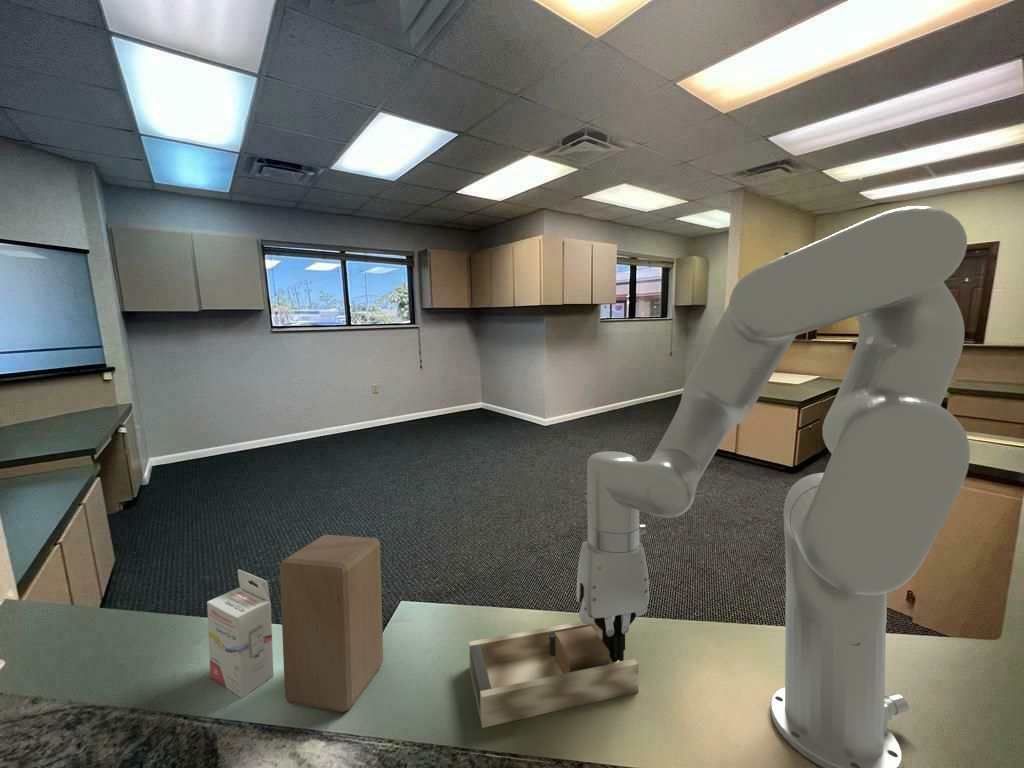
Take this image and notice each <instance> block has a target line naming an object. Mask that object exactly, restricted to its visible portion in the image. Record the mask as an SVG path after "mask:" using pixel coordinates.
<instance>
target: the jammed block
mask: <svg viewBox="0 0 1024 768" xmlns="http://www.w3.org/2000/svg"><path fill="white" fill-rule="evenodd" d="M555 658H556V660H557V662H558V664H559V666H560V668H561V670H562V672H563V674H565V673H569V671H571V670H576V669H581V668H586V667H590V666H595V665H600V664H605V663H610V661H609V650H608V648H607V647H606V646H605V644H604V643H603V642H602V640H601V639H600V637H599V636H598V635H597V633H596V632H595V630H594V629H593V628H592V626H588V627H583V628H577V629H572V630H566V631H561V632H555Z"/></svg>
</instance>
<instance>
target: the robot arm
mask: <svg viewBox="0 0 1024 768" xmlns="http://www.w3.org/2000/svg"><path fill="white" fill-rule="evenodd" d="M961 223H962V222H960V220H958V218H956V216H954V215H952V214H951V213H949V212H947V211H945V210H943V209H942V208H941V209H940V208H936V207H933V206H923V205H915V206H914V205H913V206H905V207H900V208H895V209H891V210H890V209H889V210H888V211H884V212H883V213H879V214H877V215H874V216H872V217H870V218H868V219H865V220H862V221H861V222H858V223H856V224H853V225H851V226H849V227H848V228H845V229H842V230H840V231H838V232H835V233H834V234H832V235H829V236H827V237H825V238H822V239H820V240H817V241H815V242H813V243H810V244H807V245H806V246H803V247H802V248H800V249H797V250H795V251H792V252H789V253H788V254H786V255H783V256H780V257H778V258H776V259H774V260H771V261H769V262H767V263H764V264H763V265H760V266H758V267H756V268H754V269H753V270H751V271H749V272H748V273H747V274H745V275H744V276H743V277H742V278H741V279H739V281H738V282H736V285H735V286H734V287H733V289H732V291H731V294H730V296H729V302H728V305H727V306H726V308H725V310H724V312H723V314H722V316H721V318H720V320H719V322H718V323H717V325H716V327H715V329H714V331H713V333H712V335H711V336H710V339H709V340H708V342H707V343H706V346H705V347H704V350H703V351H702V353H701V355H700V357H699V358H698V360H697V361H696V364H695V365H694V367H693V369H692V371H691V372H690V374H689V376H688V378H687V379H686V382H685V384H684V386H683V390H682V394H681V400H680V401H679V405H678V407H677V410H676V412H675V413H674V416H673V418H672V420H671V422H670V424H669V426H668V427H667V430H666V431H665V433H664V434H663V437H662V438H661V440H660V441H659V444H658V446H657V447H656V449H655V450H654V453H653V454H652V455H651V457H650V459H648V460H646V461H638V460H637V458H636V457H635V456H634V455H632V454H629V453H627V452H623V451H613V450H612V451H609V450H608V451H598V452H595V453H592V454H591V455H590V456H589V457H588V458H587V463H586V464H587V465H586V485H587V486H586V487H587V488H586V493H587V495H586V496H587V497H586V500H587V505H586V506H587V507H586V508H587V522H586V523H587V540H586V541H583V542H582V544H581V547H580V551H579V558H578V564H577V573H576V574H577V575H576V601H577V602H578V603H577V604H580V609H579V612H578V613H579V614H578V619H579V620H580V622H582V623H583V624H590V625H593V624H596V625H597V626H598V627H599V628H600V629H602V642H603V643H604V644H605V646H606V647H607V648H608V650H609V657H610V659H611V660H612V661H613V662H617V660H619V661H620V662H622V661H625V659H624V657H625V653H624V652H625V650H626V634H628V632H630V631H629V630H630V626H631V624H632V623H633V622H634V621H635V620H636V618H638V617H641V616H643V615H645V614H647V612H648V605H649V601H650V587H649V586H650V584H649V583H650V582H649V572H648V565H647V560H646V559H647V558H646V554H645V550H644V547H643V544H642V542H641V536H642V535H643V534H646V533H647V528H646V525H645V524H640V512H643V513H646V514H649V515H651V516H656V517H660V518H676V517H680V516H682V515H683V514H685V513H686V512H688V511H689V509H690V508H691V507H692V505H693V503H694V499H695V497H696V492H697V486H698V483H699V481H700V480H701V478H702V476H703V474H704V473H705V471H706V469H707V467H708V465H709V464H710V462H711V461H712V459H713V457H714V456H715V454H716V452H717V451H718V449H719V448H720V446H721V445H722V443H723V441H724V440H725V439H726V438H727V436H728V434H729V433H730V432H732V430H733V429H734V428H735V427H736V426H738V424H740V423H741V422H743V421H744V419H745V418H747V416H748V415H749V414H750V412H751V411H752V410H753V408H754V406H755V405H756V403H757V401H758V399H759V398H760V396H761V394H762V393H763V391H764V390H765V388H766V386H767V384H768V382H769V381H770V379H771V378H772V376H773V375H774V373H775V371H776V369H777V368H778V366H779V365H780V363H781V361H782V360H783V359H784V357H785V355H786V353H787V352H788V350H789V348H790V347H791V345H792V343H793V342H794V341H795V338H796V337H797V336H799V335H802V334H805V333H809V332H812V331H815V330H818V329H821V328H824V327H827V326H831V325H833V324H836V323H839V322H841V321H845V320H848V319H850V318H854V317H856V321H857V322H858V337H857V343H856V345H855V348H854V351H853V354H852V357H851V360H850V363H849V366H848V368H847V370H846V372H845V375H844V378H843V379H842V382H841V384H840V387H839V389H838V391H837V393H836V395H835V398H834V400H833V402H832V404H831V406H830V408H829V409H828V411H827V413H826V416H825V417H824V421H823V423H822V424H823V425H822V428H821V429H822V439H823V442H824V445H825V446H826V448H827V449H828V451H829V453H831V456H830V458H829V460H828V463H827V465H826V468H825V470H824V472H817V473H812V474H808V475H806V476H804V477H802V478H800V479H799V480H797V482H795V483H794V484H793V485H792V486H791V487H790V488H789V490H788V491H787V494H786V497H785V500H784V504H783V528H784V529H783V531H784V548H785V630H784V631H785V632H784V633H785V635H784V636H785V637H784V638H785V641H784V643H785V644H784V645H785V649H784V650H785V653H784V655H785V657H784V686H783V687H781V688H779V689H777V690H776V691H775V692H774V693H773V695H772V696H771V698H770V699H771V700H770V715H771V719H772V721H773V723H774V726H775V727H776V729H777V731H779V733H780V734H781V736H782V737H783V738H784V739H785V741H787V742H788V743H789V745H790V746H792V747H793V748H794V749H795V750H796V751H797V752H799V754H801V755H802V756H804V757H805V758H807V759H808V760H810V761H811V762H812V763H814V764H816V765H818V766H820V767H821V768H903V751H902V749H901V746H900V744H899V741H897V739H896V737H895V736H894V735H893V733H892V732H891V731H890V729H889V727H888V722H889V721H891V720H892V718H893V716H898V715H901V714H905V713H907V712H909V708H910V707H909V704H908V702H907V700H906V699H905V697H904V696H902V695H900V694H899V693H897V692H894V693H893V692H892V693H889V694H886V695H885V692H886V690H885V689H886V688H885V687H886V640H887V639H886V638H887V637H886V635H887V634H886V631H887V628H886V627H887V617H888V616H887V611H888V610H887V608H888V607H887V606H888V605H887V593H891V592H893V591H896V590H897V589H900V588H901V587H903V586H904V585H906V583H908V582H909V581H910V580H911V579H913V577H914V576H915V574H916V573H917V571H919V569H920V568H921V566H922V565H923V563H924V562H925V559H926V557H927V556H928V554H929V552H930V550H931V548H932V546H933V544H934V542H935V541H936V538H937V536H938V535H939V532H940V530H941V528H942V527H943V524H945V523H944V522H945V520H946V519H947V517H948V514H949V512H950V510H951V508H952V506H953V505H954V503H955V500H956V498H957V496H958V495H959V492H960V490H961V488H962V486H963V483H964V481H965V479H966V477H967V474H968V469H969V466H970V465H969V464H970V456H971V453H970V451H971V449H970V443H969V437H968V436H967V433H966V430H965V428H964V427H963V426H962V424H961V423H960V421H959V420H958V419H957V418H956V417H955V416H954V415H953V414H952V413H951V412H950V411H948V410H947V409H946V408H944V407H943V406H942V404H943V400H944V398H945V396H946V393H947V391H948V389H949V388H950V387H949V386H950V383H951V381H952V379H953V375H954V373H955V370H956V368H957V366H958V363H959V360H960V358H961V355H962V351H963V347H964V341H965V333H966V332H965V322H964V318H963V315H962V311H961V309H960V306H959V305H958V303H957V301H956V299H955V297H954V296H953V294H952V292H951V290H949V288H948V286H947V285H946V283H945V281H946V280H947V279H949V278H950V277H951V276H952V275H954V273H955V272H956V270H957V269H958V268H959V266H960V265H961V263H962V262H963V260H964V258H965V256H966V252H967V247H968V236H967V233H966V230H965V228H964V226H963V225H962V224H961Z"/></svg>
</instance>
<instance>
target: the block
mask: <svg viewBox="0 0 1024 768" xmlns="http://www.w3.org/2000/svg"><path fill="white" fill-rule="evenodd" d="M381 572H382V571H381V542H380V540H379V538H376V537H362V536H350V535H338V534H337V535H335V534H324V535H322V536H320V537H319V538H317V539H315V540H313V541H312V542H310V543H308V544H307V545H305V546H303V547H302V548H300V549H299V550H297V551H296V552H294V553H293V554H291V555H289V556H288V557H286V558H284V559H283V560H282V561H281V563H280V566H279V579H280V580H279V581H280V584H279V585H280V603H281V607H280V608H281V630H282V631H281V632H282V654H283V656H282V657H283V683H284V684H283V685H284V698H285V700H286V702H288V703H289V704H293V705H298V706H306V707H311V708H317V709H323V710H328V711H336V712H341V713H344V712H348V710H350V709H351V708H352V707H353V705H354V704H355V703H356V701H357V700H358V699H359V697H360V696H361V694H362V693H363V692H364V690H365V689H366V687H367V686H368V685H369V684H370V682H371V681H372V679H373V678H374V676H375V675H376V674H377V672H378V671H379V670H380V668H381V667H382V664H383V662H384V639H383V638H384V636H383V635H384V634H383V611H382V610H383V608H382V607H383V606H382V604H383V603H382V579H381V577H382V573H381Z"/></svg>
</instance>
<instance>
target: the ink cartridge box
mask: <svg viewBox="0 0 1024 768" xmlns="http://www.w3.org/2000/svg"><path fill="white" fill-rule="evenodd" d="M237 576H238V577H237V579H238V583H239V587H237V588H235V589H232V590H229V591H228V592H226V593H223V594H221V595H218V596H216V597H214V598H213V599H210V600H208V601H206V606H207V607H206V608H207V624H208V625H207V626H208V627H207V630H208V650H209V651H208V652H209V670H210V671H209V672H210V678H211V679H212V680H215V681H216V682H218V683H219V684H220V685H222V686H224V688H226V689H228V690H229V691H230V692H232V693H234V694H235V695H237V696H238V697H239V698H243V697H245V696H247V695H248V694H250V693H251V692H252V691H254V690H256V689H257V688H258V687H260V686H261V685H263V684H264V683H266V682H267V681H268V680H270V679H271V678H272V677H274V674H275V673H274V652H273V628H272V627H273V626H272V623H273V622H272V604H271V598H270V591H269V584H268V581H267V580H265V579H263V578H261V577H259V576H256V575H254V574H251V573H249V572H247V571H243V570H242V569H241V568H240V569H237ZM251 581H252V582H253V583H254V584H256V585H257V587H256V586H255V585H253V584H251V583H249V582H251Z"/></svg>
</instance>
